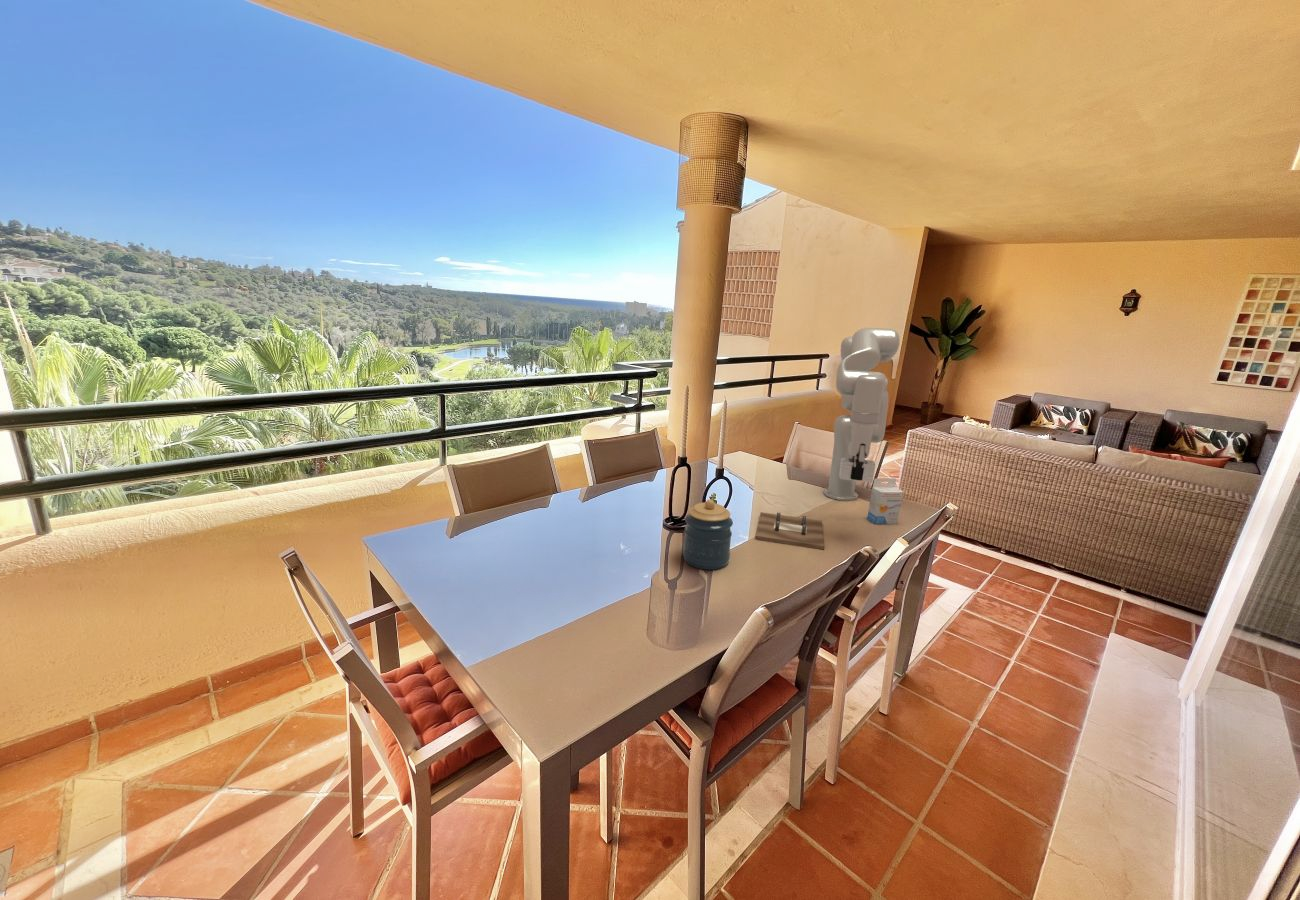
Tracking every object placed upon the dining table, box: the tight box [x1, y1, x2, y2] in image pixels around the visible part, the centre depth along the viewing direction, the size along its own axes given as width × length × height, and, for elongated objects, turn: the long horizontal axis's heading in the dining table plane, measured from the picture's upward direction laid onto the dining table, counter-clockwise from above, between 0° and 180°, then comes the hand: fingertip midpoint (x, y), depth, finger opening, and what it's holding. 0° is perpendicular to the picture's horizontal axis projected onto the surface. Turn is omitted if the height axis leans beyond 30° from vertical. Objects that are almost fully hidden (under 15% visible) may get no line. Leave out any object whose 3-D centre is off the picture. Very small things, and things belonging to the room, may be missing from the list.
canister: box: [682, 499, 734, 571], centre depth 137 cm, size 13×13×18 cm
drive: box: [839, 457, 876, 483], centre depth 150 cm, size 4×9×6 cm, turn 74°
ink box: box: [867, 477, 904, 525], centre depth 168 cm, size 8×5×15 cm, turn 98°
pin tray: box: [755, 512, 826, 550], centre depth 159 cm, size 20×20×4 cm
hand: (855, 476), depth 151 cm, fingers closed on drive, 4 cm apart
